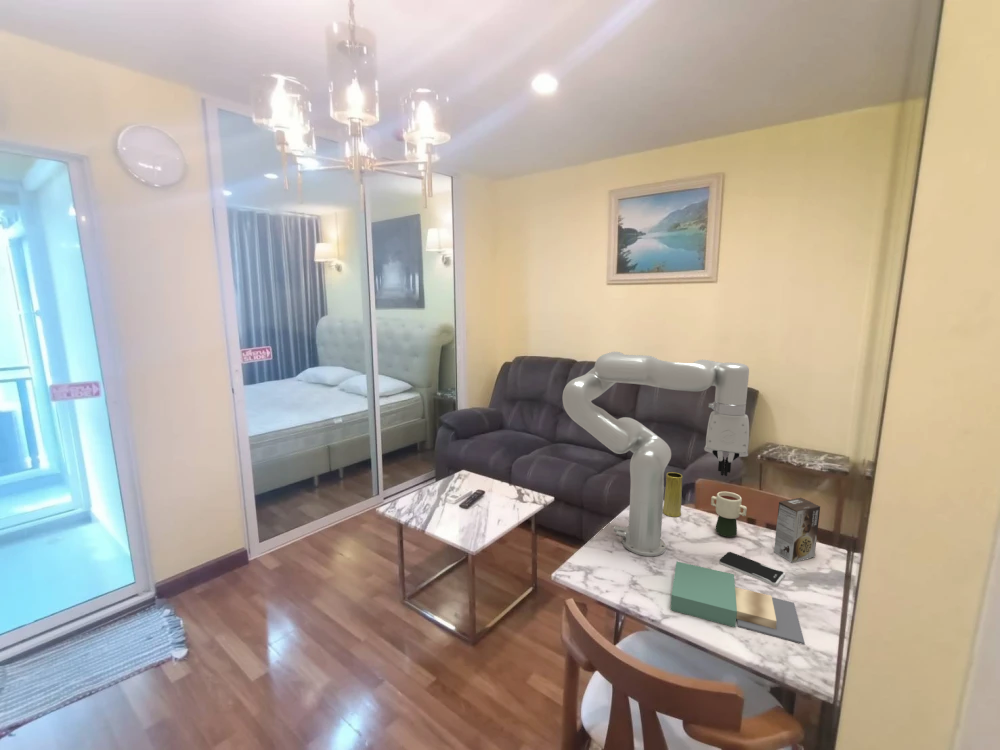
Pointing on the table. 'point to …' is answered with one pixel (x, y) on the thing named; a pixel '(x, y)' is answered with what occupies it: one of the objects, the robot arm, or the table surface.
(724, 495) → the character mug
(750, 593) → the oak tile
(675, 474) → the vase
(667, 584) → the table surface
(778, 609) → the rubber mat
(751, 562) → the smartphone
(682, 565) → the green flat block
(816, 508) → the coffee box
